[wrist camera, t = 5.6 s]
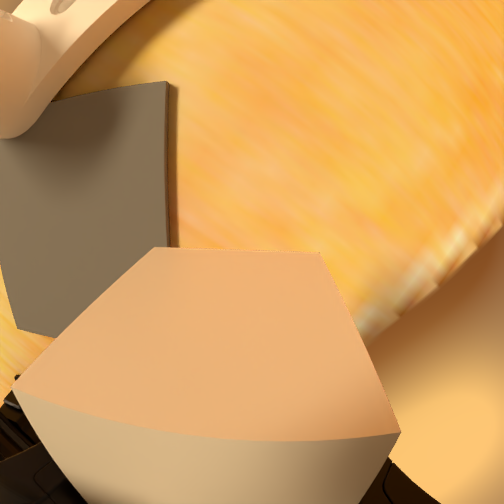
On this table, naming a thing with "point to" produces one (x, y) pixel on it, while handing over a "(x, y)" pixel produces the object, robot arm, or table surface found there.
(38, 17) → the bracket
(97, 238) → the grey rubber mat
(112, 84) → the table surface
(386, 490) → the robot arm
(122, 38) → the table surface
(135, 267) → the card deck box
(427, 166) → the table surface
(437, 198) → the table surface
